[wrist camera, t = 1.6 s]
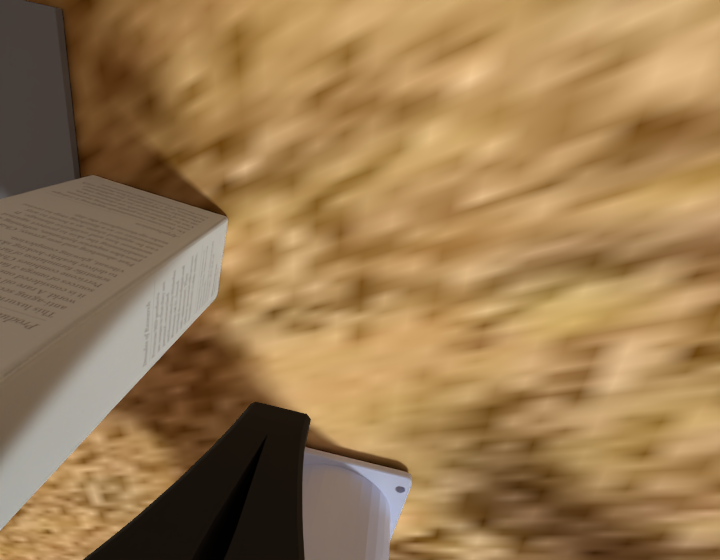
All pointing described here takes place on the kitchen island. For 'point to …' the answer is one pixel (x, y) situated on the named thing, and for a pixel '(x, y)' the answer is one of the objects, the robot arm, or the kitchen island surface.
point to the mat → (34, 100)
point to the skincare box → (89, 311)
